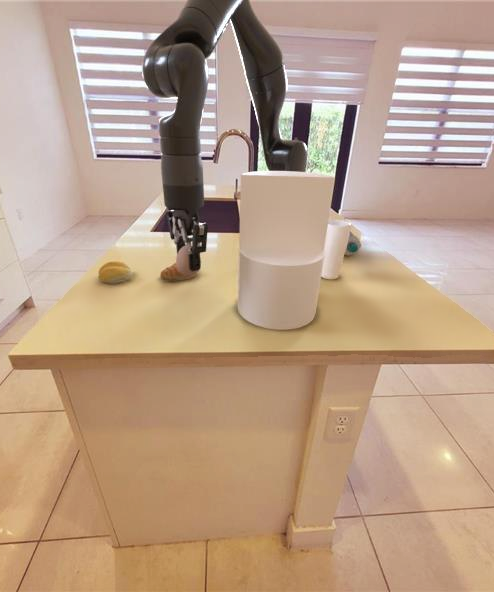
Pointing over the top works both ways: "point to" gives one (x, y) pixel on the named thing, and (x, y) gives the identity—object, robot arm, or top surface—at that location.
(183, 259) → the egg
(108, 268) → the bread roll
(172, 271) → the pastry
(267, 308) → the white chair
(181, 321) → the top surface
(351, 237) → the detergent
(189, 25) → the robot arm
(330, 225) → the drinking glass
